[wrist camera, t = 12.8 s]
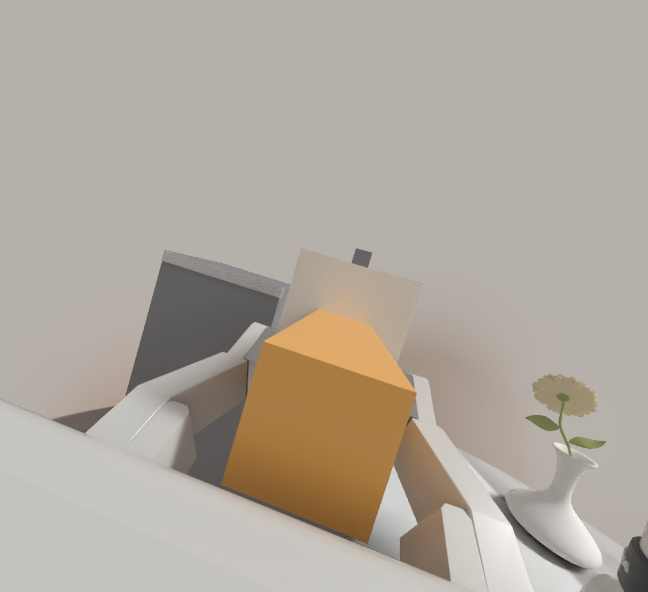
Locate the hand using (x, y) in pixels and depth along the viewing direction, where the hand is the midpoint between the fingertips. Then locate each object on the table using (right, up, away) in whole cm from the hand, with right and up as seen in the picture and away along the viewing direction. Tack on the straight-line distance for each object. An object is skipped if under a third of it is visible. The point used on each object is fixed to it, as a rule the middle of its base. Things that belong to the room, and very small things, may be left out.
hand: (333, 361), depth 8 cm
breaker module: (0, -2, +6) cm, 6 cm away
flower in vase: (+34, -36, +30) cm, 58 cm away
